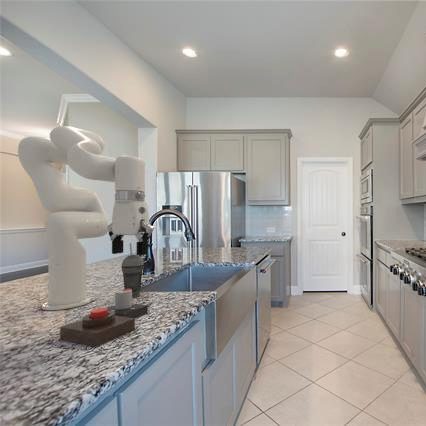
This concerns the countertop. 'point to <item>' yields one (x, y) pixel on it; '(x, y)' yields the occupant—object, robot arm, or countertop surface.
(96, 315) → the power button
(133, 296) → the beverage cup
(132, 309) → the knob
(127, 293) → the dial
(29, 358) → the countertop surface
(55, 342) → the countertop surface
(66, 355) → the countertop surface
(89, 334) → the power button base
